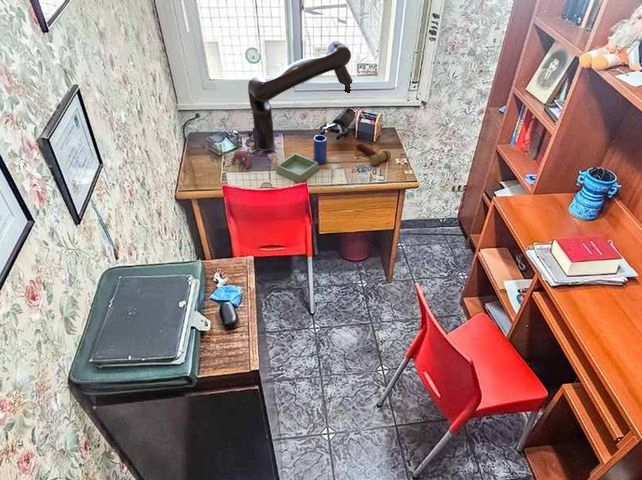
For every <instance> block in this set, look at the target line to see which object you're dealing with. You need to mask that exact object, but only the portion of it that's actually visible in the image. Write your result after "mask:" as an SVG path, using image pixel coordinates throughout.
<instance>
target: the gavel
mask: <svg viewBox="0 0 642 480" xmlns="http://www.w3.org/2000/svg"><path fill="white" fill-rule="evenodd" d="M355 146H356V147H357V148H358V149H359V150H360V151H363V152H364V153H366V154H368V155H369V162H370V164H371V165H372V166H376V165H378V164H379V163H382V162H385V161H388V160H390V159H391V158H392V154H391V152H390V151H389V149H386V150H383V151H382V152H380V153H378V152H377V151H376V150H373V149H371V148H370V147H368V146H366V145H364V144H362V143H355Z"/></svg>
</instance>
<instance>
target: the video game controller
mask: <svg viewBox="0 0 642 480" xmlns="http://www.w3.org/2000/svg"><path fill="white" fill-rule="evenodd" d="M233 153H234V154H233V156H232V158H231V165H234V164H235V163H237V162H238V163H240V164H242V163H243V164H244V165H245V168H246V169H249V168H250V167H251V165H252V162H253V160H254V156H253V154H250V153H249V152H248V151H246V150H237V151H235V152H233Z"/></svg>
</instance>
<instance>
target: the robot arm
mask: <svg viewBox="0 0 642 480" xmlns="http://www.w3.org/2000/svg"><path fill="white" fill-rule="evenodd" d="M325 54H326V55H324V56H320V57H319V56H317V57H307V58H306V57H305V58H302V59H300V60H297V61H295V62H293V63H291V64H289V65H288V66H287V67H286V68H285V69H284V71H283V72H282V73H281V74H279V75H278V76H276V77H273V78H271V79H269V80H266V79H265V77H263V76H261V75H254V76H252V77H251V78H250V79H249V81H248V83H247V92H248V99H249V106H250V108H251V112H252V113H251V114H252V120H253V127H252V132H247V134H248V135H249V136H250V137H252V136H253V137H252V138H253V143H254V147H255V148H256V149H257V150H258V151H261V152H269V151H272V150H274V149H275V146H276V145H275V141H276V140H275V135H274V123H273V122H274V119H273V108H272V106H271V104H270V101H271V100H273V99H274V98H276V97H278V96H279V95H280V94H283V93H284V92H286V91H288V90H290V89H291V90H292V89H293V88H294V87H297V86H299V85H302V84H304V83H306V82H309V81H310V80H313V79H315V78H317V77H319V76H322V75H323V74H327V73H328V72H332V71H334V74H335V76H336V78H337V81H338V83H339V82H340V83H342V84H344V85H345V90H344V91H345V92H347V93H350V91H351V89H350V88H351V87H350V84H351V83H352V81H353V82H354V80H353V78H352V77H351V74H350V73H349V70H348V69H347V65H348V64H349V62H350V61H351V60H352V59H351V58H352V52H351V50H350V49H349V48H348V47H347V46H346V45H345V44H343V43H342V42H340V41H338V40H333V41H331V42H329V44H328V45H327V46H326V53H325ZM355 118H356V116H355V112H354V111H353V110H352V109H350V108H346V109H344V108H343V110H342V111H341V112H340V113H339V114H338V115H337V116H336V117H335V118H334V119H333V120H332V122H331V123H329V124H328V122H327V121H325V122H323V123H322V124H321V125H320V126H319V135H324V136H325V134H331V133H332V134H333V133H334V134H337V135H336V137H335V140H336V141H339V140H341V139H342V138H344V139H345V138H346V139H347V137H348V136H349V134H350V131H351V127H349V126H350V125H351V124H352V123H353V121H354V120H355Z"/></svg>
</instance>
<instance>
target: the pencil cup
mask: <svg viewBox="0 0 642 480" xmlns="http://www.w3.org/2000/svg"><path fill="white" fill-rule="evenodd" d="M327 141H328V139H327V136H325V134H324V135H320V134H316V135H315V136H313V161H316V162H318V165H325V164H326V163H327V153H328V152H327V150H328V149H327V148H328V147H327V145H328V143H327Z"/></svg>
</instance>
